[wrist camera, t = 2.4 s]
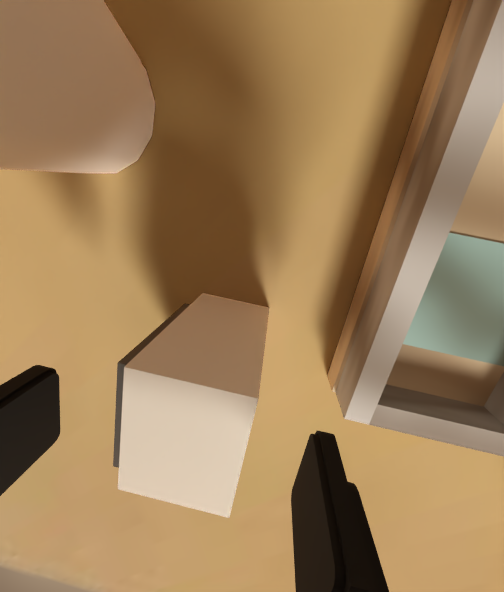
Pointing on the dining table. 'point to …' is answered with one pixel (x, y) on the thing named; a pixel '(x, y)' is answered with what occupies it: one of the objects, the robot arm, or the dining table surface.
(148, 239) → the dining table surface
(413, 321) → the finger rail
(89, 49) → the foam cup
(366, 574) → the robot arm
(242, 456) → the white foam block
